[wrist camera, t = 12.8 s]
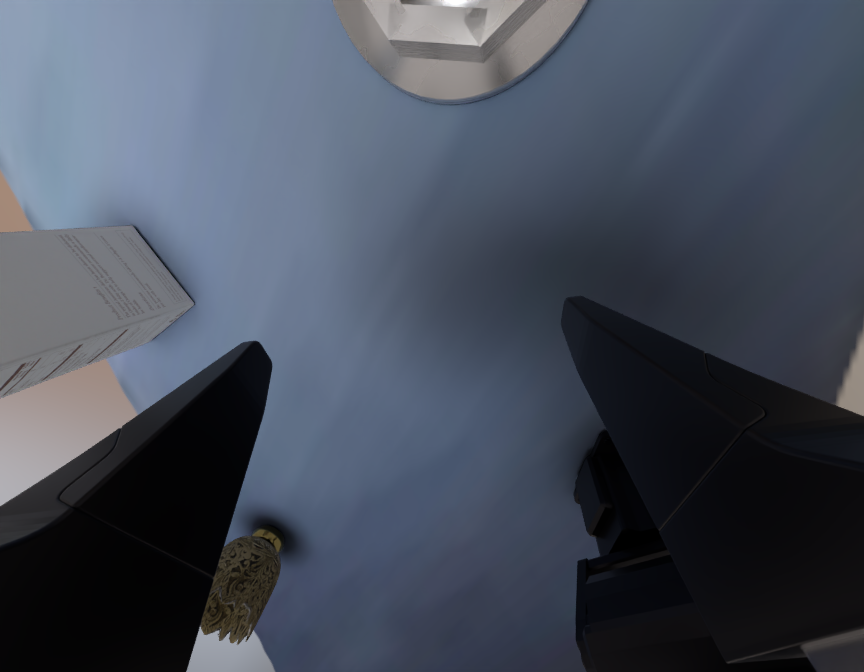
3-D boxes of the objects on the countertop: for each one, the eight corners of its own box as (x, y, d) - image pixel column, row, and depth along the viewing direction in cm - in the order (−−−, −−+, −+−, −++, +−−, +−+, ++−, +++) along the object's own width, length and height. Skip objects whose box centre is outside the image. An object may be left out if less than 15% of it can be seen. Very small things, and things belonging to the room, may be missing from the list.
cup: (314, 558, 35) (263, 649, 28) (263, 558, 37) (203, 642, 30) (283, 506, 33) (219, 591, 26) (231, 510, 35) (159, 588, 28)
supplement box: (91, 270, 27) (-219, 316, 15) (134, 222, 24) (-203, 236, 13) (152, 343, 28) (-89, 434, 17) (199, 306, 26) (-50, 385, 14)
